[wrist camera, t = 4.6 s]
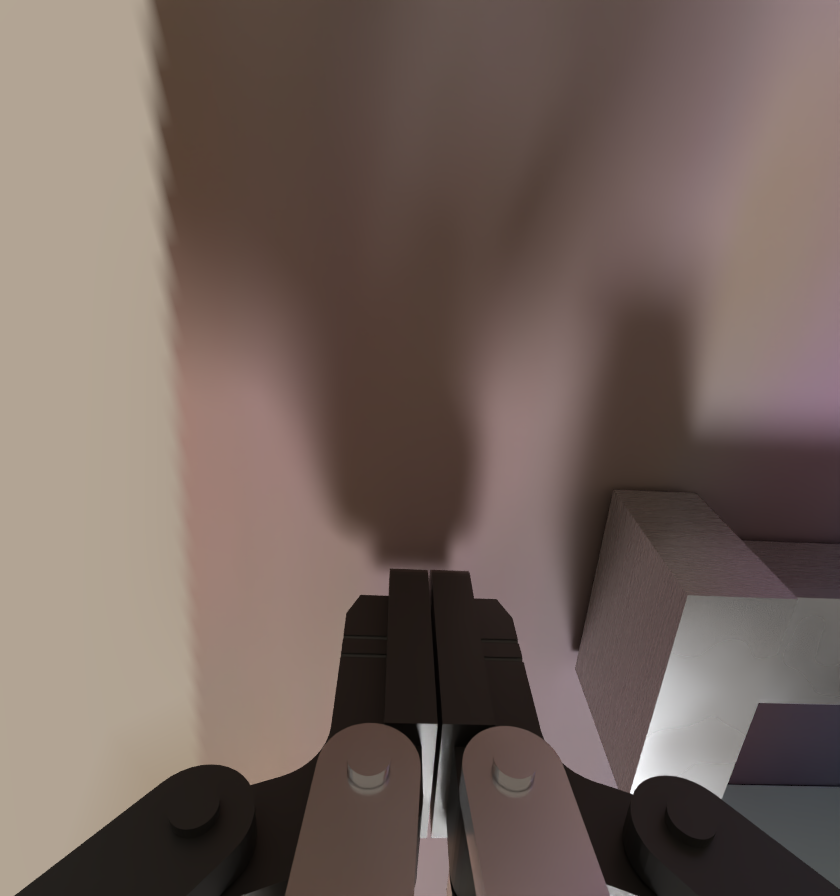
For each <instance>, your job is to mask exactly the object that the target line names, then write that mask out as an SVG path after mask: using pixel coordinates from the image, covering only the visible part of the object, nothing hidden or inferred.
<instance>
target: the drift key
mask: <svg viewBox="0 0 840 896" xmlns="http://www.w3.org/2000/svg"><path fill="white" fill-rule="evenodd" d="M575 670H576V673H577V675H578V678H579V681H580V684H581V686H582V689H583V692H584V695H585V698H586V700H587V703H588V706H589V709H590V711H591V714H592V717H593V720H594V723H595V725H596V728H597V731H598V734H599V736H600V739H601V742H602V745H603V748H604V750H605V753H606V756H607V759H608V761H609V764H610V767H611V770H612V773H613V775H614V778H615V781H616V784H617V786H618V789H619V790H621V791H625V792H628V793H631V794H633V793H634V791H635V789H636V788H637V787H638V785H639V784H641V783H642V782H643V781H644V780H646V779H649V778H651V777H655V776H664V775H669V776H677V777H681V778H684V779H688V780H690V781H693V782H695V783H697V784H699V785H701V786H703V787H705V788H706V789H708V790H709V791H711V792H712V793H714V794H715V795H716V796H718V797H719V798H720V799H722V797H723V794H724V792H725V789H726V787H727V784H728V781H729V779H730V776H731V774H732V771H733V768H734V766H735V763H736V761H737V758H738V755H739V753H740V750H741V748H742V745H743V742H744V740H745V737H746V734H747V732H748V729H749V727H750V724H751V721H752V719H753V716H754V714H755V711H756V708H757V706H758V703H782V704H821V705H840V544H820V543H795V542H769V541H744V540H741V539H740V538H739V537H738V536H737V535H736V534H735V533H734V532H733V531H732V530H731V529H730V528H729V527H728V526H727V525H726V524H725V523H724V522H723V521H722V520H721V518H720V517H719V516H718V515H717V514H716V513H715V512H714V511H713V510H712V509H711V508H710V507H709V506H708V505H707V504H706V503H705V502H704V501H703V500H702V499H701V498H700V497H699V496H698V495H697V494H696V493H682V492H659V491H636V490H613V494H612V499H611V503H610V508H609V513H608V517H607V522H606V527H605V531H604V536H603V541H602V545H601V550H600V555H599V559H598V564H597V569H596V573H595V578H594V583H593V587H592V592H591V597H590V601H589V606H588V611H587V615H586V620H585V625H584V630H583V634H582V639H581V644H580V648H579V653H578V658H577V662H576V667H575Z"/></svg>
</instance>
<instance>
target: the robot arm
mask: <svg viewBox="0 0 840 896" xmlns="http://www.w3.org/2000/svg"><path fill="white" fill-rule="evenodd" d="M429 810H430V819H431V838H447V840H448V855H449V875H448V883H447V896H840V889H839V888H838V887H836V886H835V885H834V884H832V883H831V882H830V881H828V880H827V879H826V878H824V877H823V876H822V875H820V874H819V873H818V872H816V871H815V870H814V869H813V868H811V867H810V866H809V865H807V864H806V863H805V862H803V861H802V860H801V859H799V858H798V857H797V856H795V855H794V854H793V853H791V852H790V851H789V850H787V849H786V848H785V847H784V846H782V845H781V844H780V843H778V842H777V841H776V840H774V839H773V838H772V837H770V836H769V835H768V834H766V833H765V832H764V831H762V830H761V829H760V828H759V827H757V826H756V825H755V824H753V823H752V822H751V821H749V820H748V819H747V818H745V817H744V816H743V815H741V814H740V813H739V812H737V811H736V810H735V809H733V808H732V807H731V806H730V805H728V804H727V803H726V802H724V801H723V800H722V799H720V798H719V797H718V796H716V795H715V794H714V793H712V792H711V791H709V790H708V789H706V788H705V787H703V786H701V785H699V784H697V783H695V782H693V781H690V780H688V779H684V778H681V777H677V776H669V775H664V776H655V777H651V778H649V779H646V780H644V781H643V782H642V783H641V784H639V785H638V787H637V788H636V789H635V791H634V793H633V794H631V793H628V792H625V791H621V790H618V789H615V788H612V787H609V786H606V785H603V784H600V783H597V782H594V781H591V780H589V779H586V778H584V777H582V776H580V775H578V774H576V773H575V772H573V771H572V770H570V769H569V768H567V767H566V766H565V765H564V764H563V763H562V762H561V760H560V758H559V756H558V755H557V753H556V752H555V750H554V749H553V748H552V747H551V746H550V745H549V744H548V743H547V742H546V741H545V740H544V738H543V736H542V733H541V729H540V725H539V721H538V717H537V714H536V710H535V706H534V702H533V698H532V694H531V690H530V686H529V682H528V678H527V674H526V670H525V666H524V662H522V654H521V650H520V647H519V644H518V639H517V635H516V631H515V627H514V623H513V619H512V617H511V616H510V615H509V614H508V612H507V611H506V610H505V609H504V608H503V606H502V605H501V604H500V603H499V602H498V600H497V599H474V596H473V590H472V584H471V578H470V573H469V571H447V570H430V576H429V578H428V570H414V569H390V577H389V596H376V595H360V596H359V598H358V599H357V600H356V601H355V603H354V604H353V605H352V607H351V608H350V609H349V611H348V612H347V614H346V621H345V629H344V638H343V643H342V651H341V658H340V665H339V673H338V680H337V687H336V695H335V702H334V709H333V717H332V724H331V729H330V734H329V736H328V739H327V741H326V743H325V745H324V746H323V748H322V749H321V750H320V752H319V753H318V754H317V755H316V756H315V757H314V758H313V759H312V760H311V761H310V762H309V763H307V764H306V765H304V766H303V767H301V768H300V769H298V770H296V771H294V772H292V773H290V774H287V775H284V776H281V777H278V778H274V779H271V780H267V781H264V782H260V783H257V784H253V785H250V784H249V782H248V781H247V780H246V779H245V777H244V776H243V775H241V774H240V773H239V772H237V771H236V770H234V769H231V768H229V767H225V766H221V765H200V766H196V767H191V768H188V769H186V770H183V771H180V772H179V773H177V774H175V775H173V776H171V777H170V778H168V779H166V780H165V781H164V782H162V783H161V784H159V785H158V786H157V787H156V788H154V789H153V790H152V791H150V792H149V793H148V794H146V795H145V796H144V797H143V798H141V799H140V800H139V801H137V802H136V803H135V804H133V805H132V806H131V807H129V808H128V809H127V810H126V811H124V812H123V813H122V814H120V815H119V816H118V817H117V818H115V819H114V820H113V821H111V822H110V823H109V824H107V825H106V826H105V827H103V828H102V829H101V830H99V831H98V832H97V833H96V834H94V835H93V836H92V837H90V838H89V839H88V840H86V841H85V842H84V843H83V844H81V845H80V846H79V847H77V848H76V849H75V850H73V851H72V852H71V853H70V854H68V855H67V856H66V857H65V858H63V859H62V860H60V861H59V862H58V863H56V864H55V865H54V866H53V867H51V868H50V869H49V870H47V871H46V872H45V873H44V874H42V875H41V876H40V877H38V878H37V879H36V880H34V881H33V882H32V883H30V884H29V885H28V886H27V887H25V888H24V889H23V890H21V891H20V892H19V893H17V894H16V895H15V896H414V888H415V883H416V877H417V865H418V854H419V843H420V838H427V831H428V821H429Z"/></svg>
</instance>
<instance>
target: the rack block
mask: <svg viewBox="0 0 840 896" xmlns="http://www.w3.org/2000/svg"><path fill="white" fill-rule="evenodd" d="M722 800H723V801H724V802H726V803H727V804H728V805H730V806H731V807H732V808H733V809H735V810H736V811H737V812H739V813H740V814H741V815H743V816H744V817H745V818H747V819H748V820H749V821H751V822H752V823H753V824H755V825H756V826H757V827H759V828H760V829H761V830H762V831H764V832H765V833H766V834H768V835H769V836H770V837H772V838H773V839H774V840H776V841H777V842H778V843H780V844H781V845H782V846H784V847H785V848H786V849H787V850H789V851H790V852H791V853H793V854H794V855H795V856H797V857H798V858H799V859H801V860H802V861H803V862H805V863H806V864H807V865H809V866H810V867H811V868H813V869H814V870H815V871H816V872H818V873H819V874H820V875H822V876H823V877H824V878H826V879H827V880H828V881H830V882H831V883H832V884H834V885H835V886H836V887H838V888H839V889H840V787H821V786H768V785H727V787H726V789H725V792H724V794H723V797H722Z"/></svg>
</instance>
